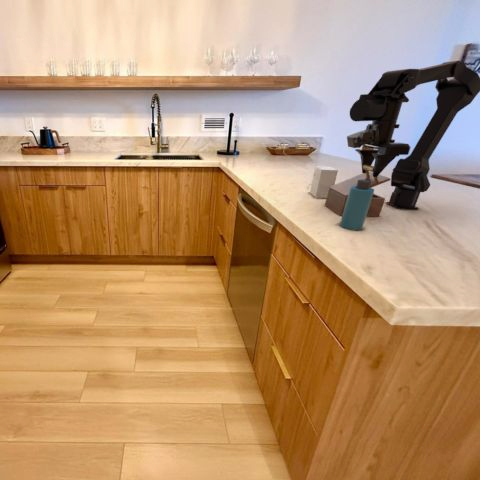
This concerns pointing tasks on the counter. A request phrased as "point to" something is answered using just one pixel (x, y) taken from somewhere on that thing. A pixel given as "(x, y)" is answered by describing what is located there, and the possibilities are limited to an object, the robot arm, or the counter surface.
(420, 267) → the counter surface
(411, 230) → the counter surface
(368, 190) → the detergent bottle
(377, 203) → the chest
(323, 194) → the small box
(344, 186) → the chest lid
